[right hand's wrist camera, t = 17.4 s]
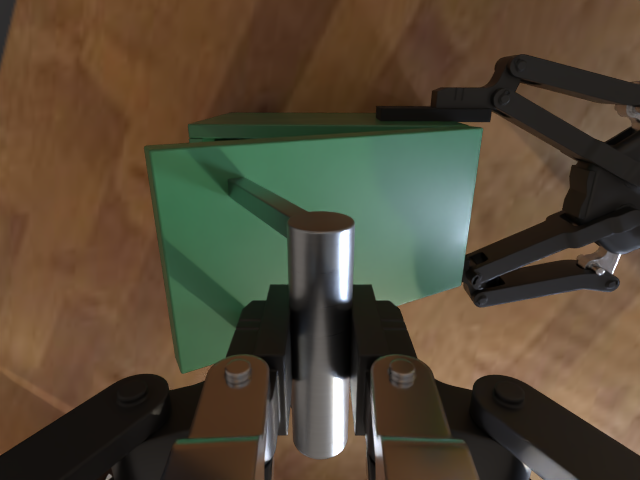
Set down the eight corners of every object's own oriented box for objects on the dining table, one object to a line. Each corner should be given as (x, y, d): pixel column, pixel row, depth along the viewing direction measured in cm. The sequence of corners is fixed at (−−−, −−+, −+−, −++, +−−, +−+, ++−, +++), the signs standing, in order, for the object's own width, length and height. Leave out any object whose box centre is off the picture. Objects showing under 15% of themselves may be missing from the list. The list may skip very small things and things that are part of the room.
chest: (238, 222, 35) (203, 273, 25) (229, 112, 32) (186, 124, 22) (418, 224, 34) (450, 276, 25) (428, 113, 31) (470, 125, 22)
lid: (175, 358, 18) (239, 533, 11) (143, 145, 14) (207, 200, 8) (445, 277, 25) (586, 350, 18) (464, 125, 22) (644, 144, 15)
